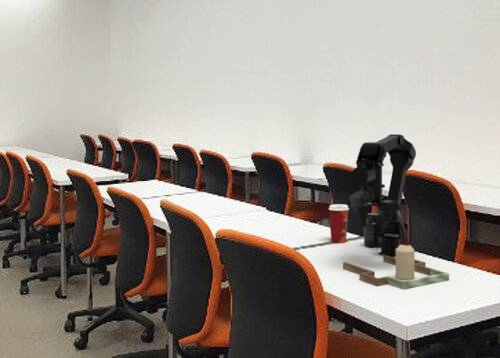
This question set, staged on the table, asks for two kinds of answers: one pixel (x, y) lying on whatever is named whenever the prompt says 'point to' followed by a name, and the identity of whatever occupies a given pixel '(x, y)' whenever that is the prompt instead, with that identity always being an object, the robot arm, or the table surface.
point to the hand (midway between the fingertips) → (373, 229)
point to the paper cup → (338, 222)
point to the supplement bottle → (371, 232)
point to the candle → (405, 262)
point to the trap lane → (418, 267)
